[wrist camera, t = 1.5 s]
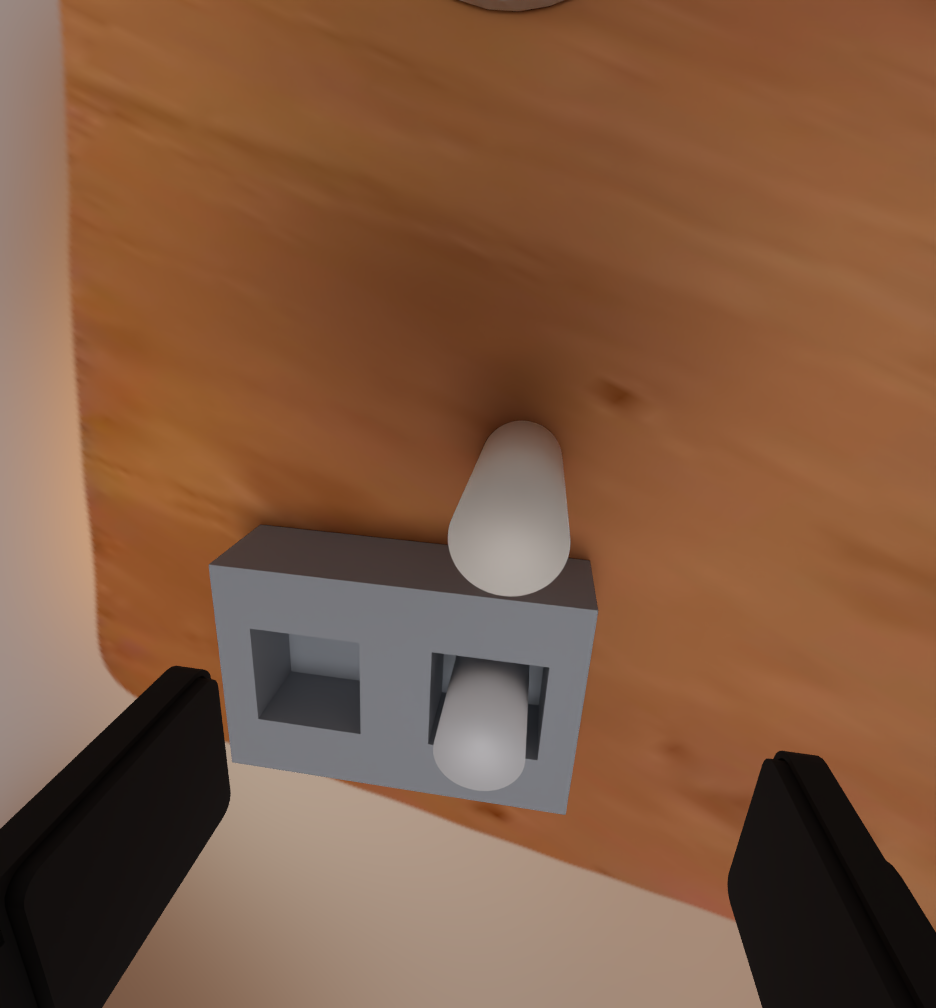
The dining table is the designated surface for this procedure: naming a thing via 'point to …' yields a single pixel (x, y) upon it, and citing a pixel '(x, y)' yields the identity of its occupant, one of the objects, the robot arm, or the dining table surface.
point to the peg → (513, 513)
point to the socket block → (401, 667)
